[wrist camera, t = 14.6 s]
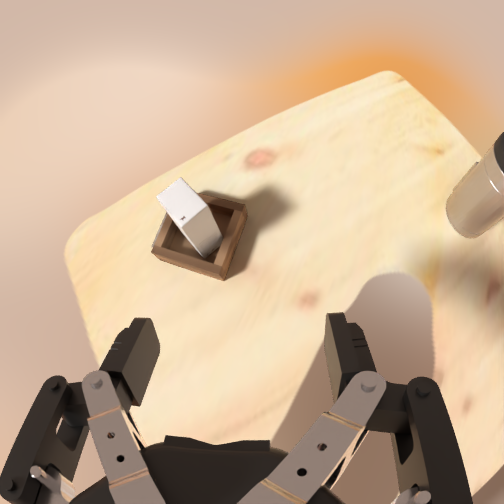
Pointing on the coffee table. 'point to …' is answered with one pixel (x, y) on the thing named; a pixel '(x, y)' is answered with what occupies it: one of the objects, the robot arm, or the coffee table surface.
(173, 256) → the box
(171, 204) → the skincare box
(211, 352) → the coffee table surface
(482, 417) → the coffee table surface
